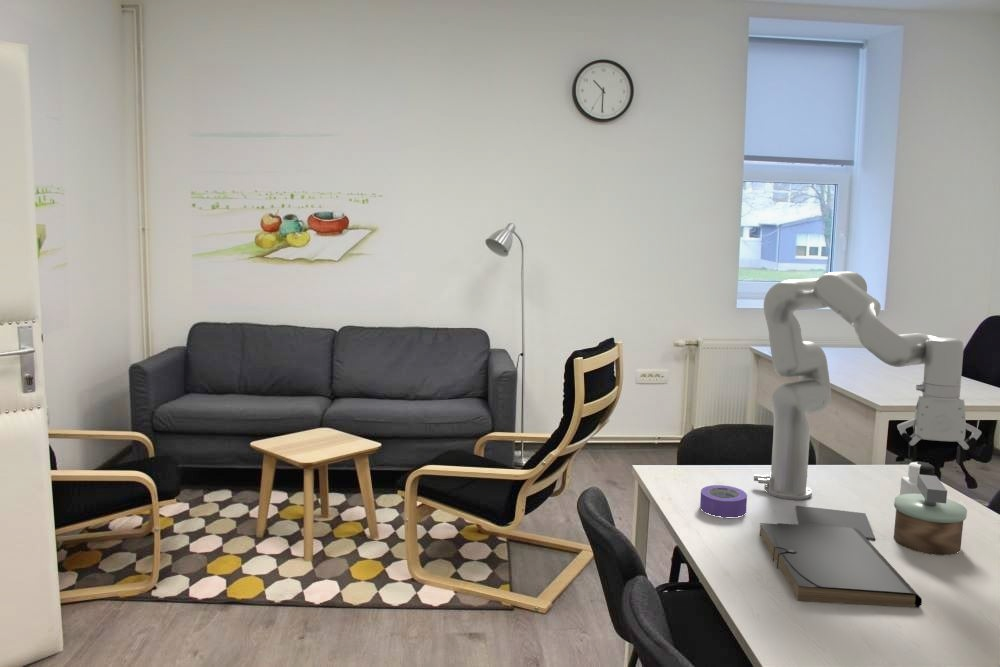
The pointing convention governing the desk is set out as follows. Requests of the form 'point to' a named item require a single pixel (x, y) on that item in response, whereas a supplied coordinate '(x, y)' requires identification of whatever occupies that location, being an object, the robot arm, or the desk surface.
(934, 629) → the desk surface
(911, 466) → the medicine bottle
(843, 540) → the file folder
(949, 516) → the cover
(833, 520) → the mat
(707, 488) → the tape roll
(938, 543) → the canister
